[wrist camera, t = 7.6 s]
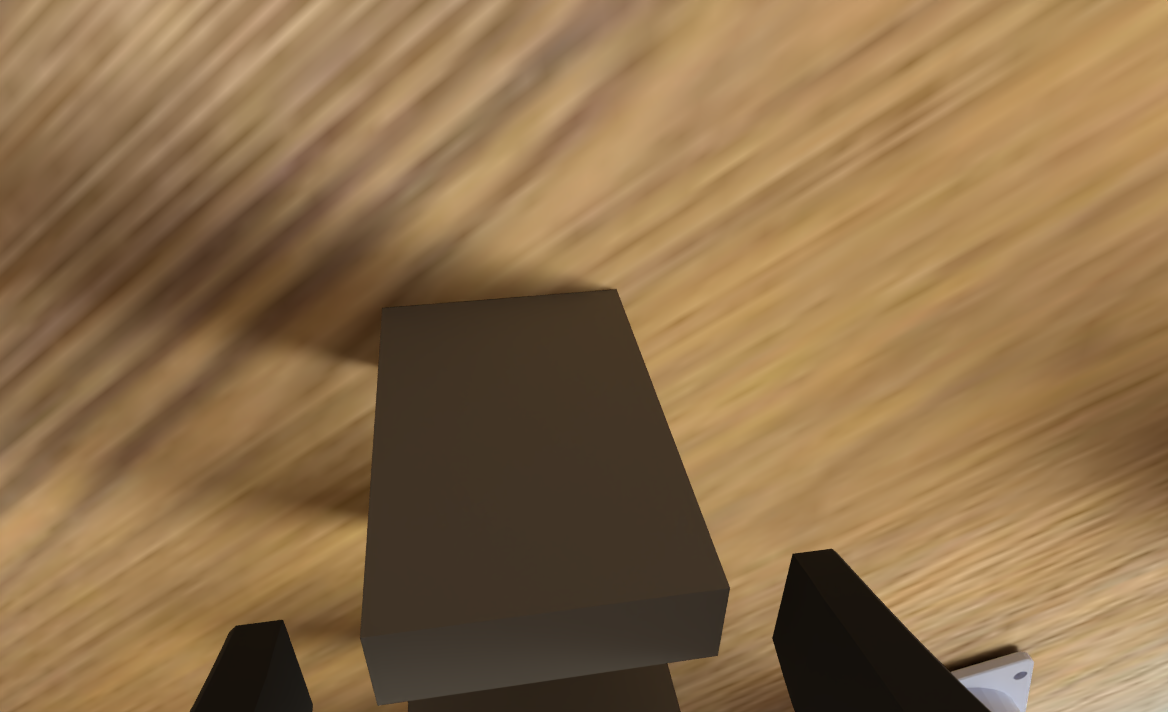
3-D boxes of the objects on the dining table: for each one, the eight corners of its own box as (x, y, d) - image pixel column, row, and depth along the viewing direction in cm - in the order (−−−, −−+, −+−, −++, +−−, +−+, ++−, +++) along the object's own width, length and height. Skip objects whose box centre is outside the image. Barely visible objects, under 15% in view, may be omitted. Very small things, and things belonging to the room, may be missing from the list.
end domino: (614, 348, 18) (717, 655, 12) (392, 369, 18) (377, 705, 11) (616, 289, 17) (729, 587, 11) (382, 307, 17) (359, 637, 10)
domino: (608, 501, 21) (689, 812, 15) (418, 524, 21) (417, 860, 14) (610, 457, 20) (696, 768, 14) (410, 479, 20) (406, 818, 13)
